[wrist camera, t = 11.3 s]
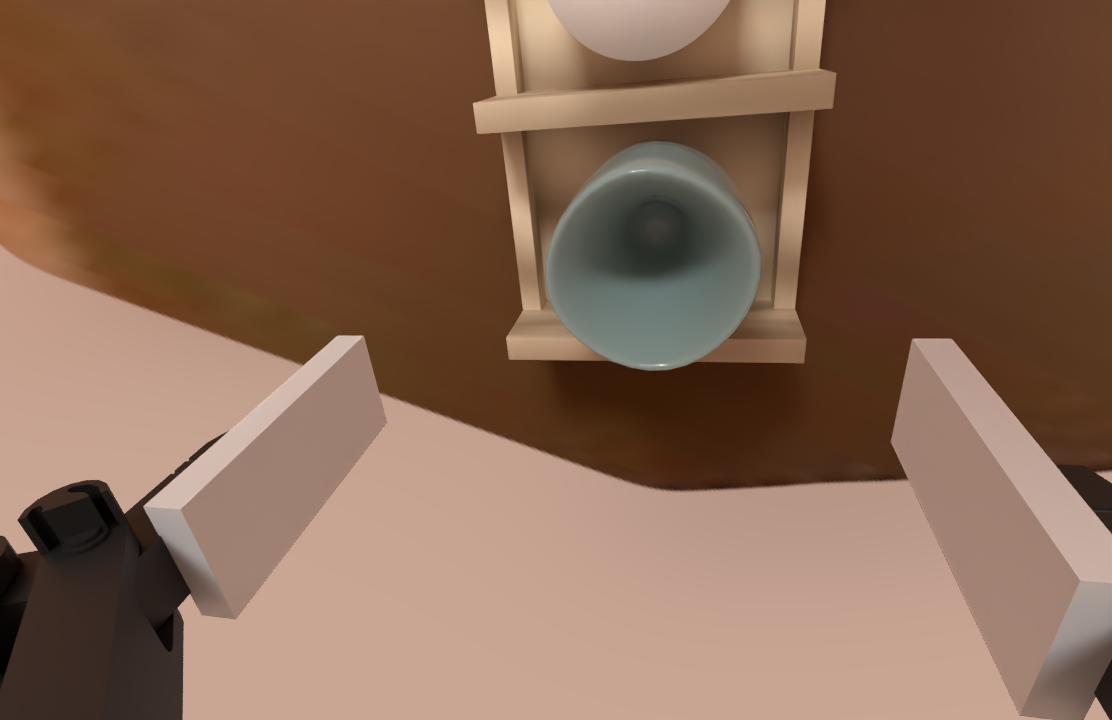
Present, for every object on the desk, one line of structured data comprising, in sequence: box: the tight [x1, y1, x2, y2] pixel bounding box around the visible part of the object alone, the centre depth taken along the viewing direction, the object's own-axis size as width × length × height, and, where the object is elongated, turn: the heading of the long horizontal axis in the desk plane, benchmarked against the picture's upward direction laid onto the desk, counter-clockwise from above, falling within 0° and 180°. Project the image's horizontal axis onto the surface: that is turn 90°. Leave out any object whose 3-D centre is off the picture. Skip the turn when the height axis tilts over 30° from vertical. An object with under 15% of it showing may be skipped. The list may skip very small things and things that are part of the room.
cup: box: [545, 140, 762, 371], centre depth 26 cm, size 8×8×10 cm
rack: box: [473, 0, 836, 363], centre depth 26 cm, size 23×14×6 cm, turn 5°
